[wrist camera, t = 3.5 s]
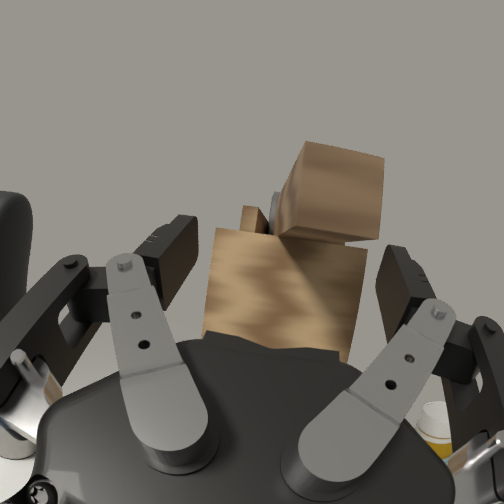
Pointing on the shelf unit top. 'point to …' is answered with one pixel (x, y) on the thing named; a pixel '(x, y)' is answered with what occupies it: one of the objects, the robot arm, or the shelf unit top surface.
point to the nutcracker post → (283, 288)
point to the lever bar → (330, 196)
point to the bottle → (436, 429)
